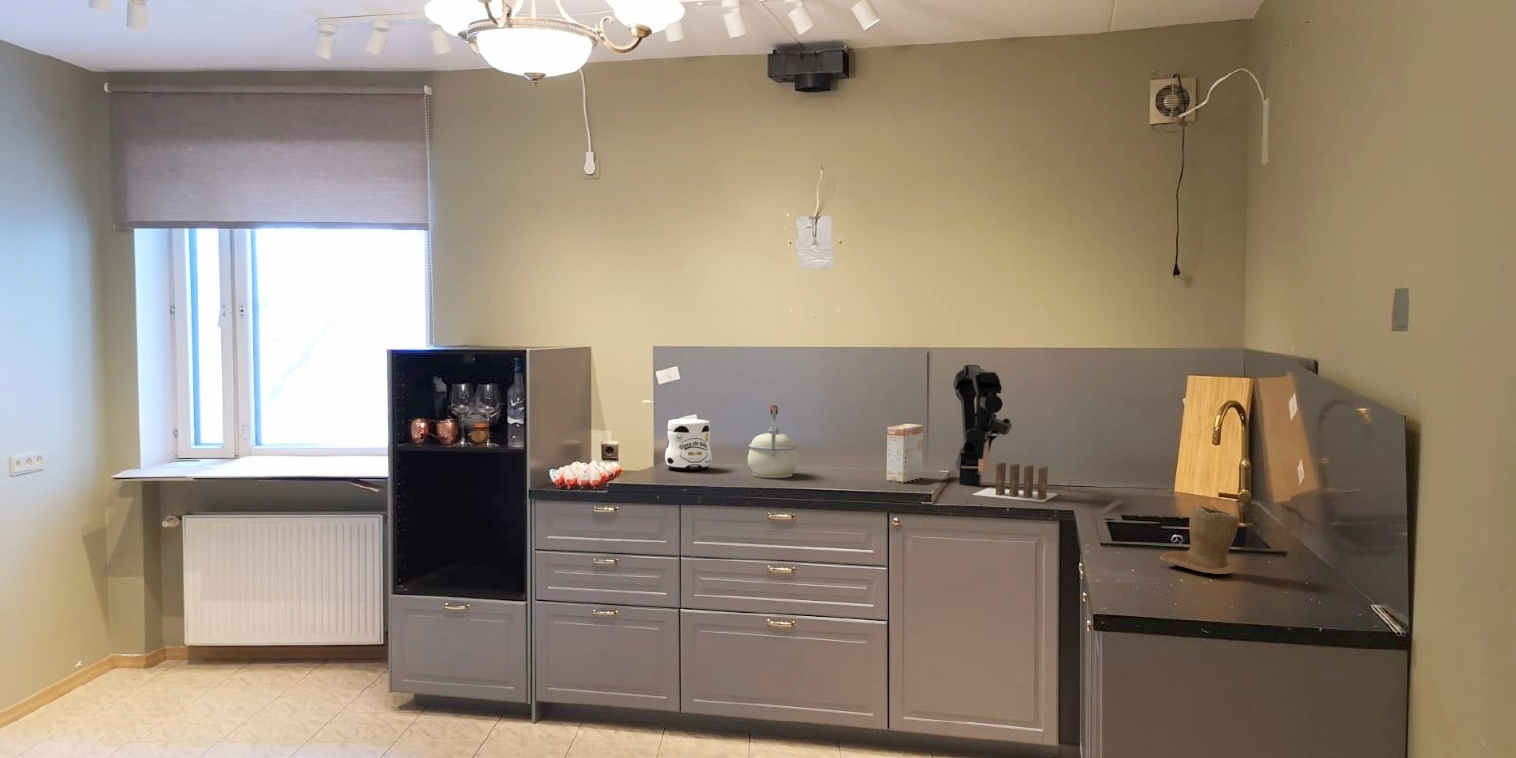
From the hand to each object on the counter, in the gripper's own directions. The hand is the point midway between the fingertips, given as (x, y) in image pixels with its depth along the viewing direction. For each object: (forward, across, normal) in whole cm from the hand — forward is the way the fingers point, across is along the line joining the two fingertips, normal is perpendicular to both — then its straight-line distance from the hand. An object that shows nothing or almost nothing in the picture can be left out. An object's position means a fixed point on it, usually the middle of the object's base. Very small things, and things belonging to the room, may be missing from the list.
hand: (983, 458), depth 347 cm
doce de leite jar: (+13, -7, +110) cm, 111 cm away
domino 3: (+11, 0, -10) cm, 15 cm away
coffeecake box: (+13, +17, +34) cm, 40 cm away
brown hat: (+12, -72, -76) cm, 106 cm away
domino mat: (+12, +3, -10) cm, 16 cm away
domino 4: (+11, 0, -15) cm, 19 cm away
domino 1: (+4, 0, 0) cm, 4 cm away
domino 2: (+11, 0, -6) cm, 13 cm away
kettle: (+13, 0, +78) cm, 79 cm away
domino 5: (+11, 0, -20) cm, 22 cm away
